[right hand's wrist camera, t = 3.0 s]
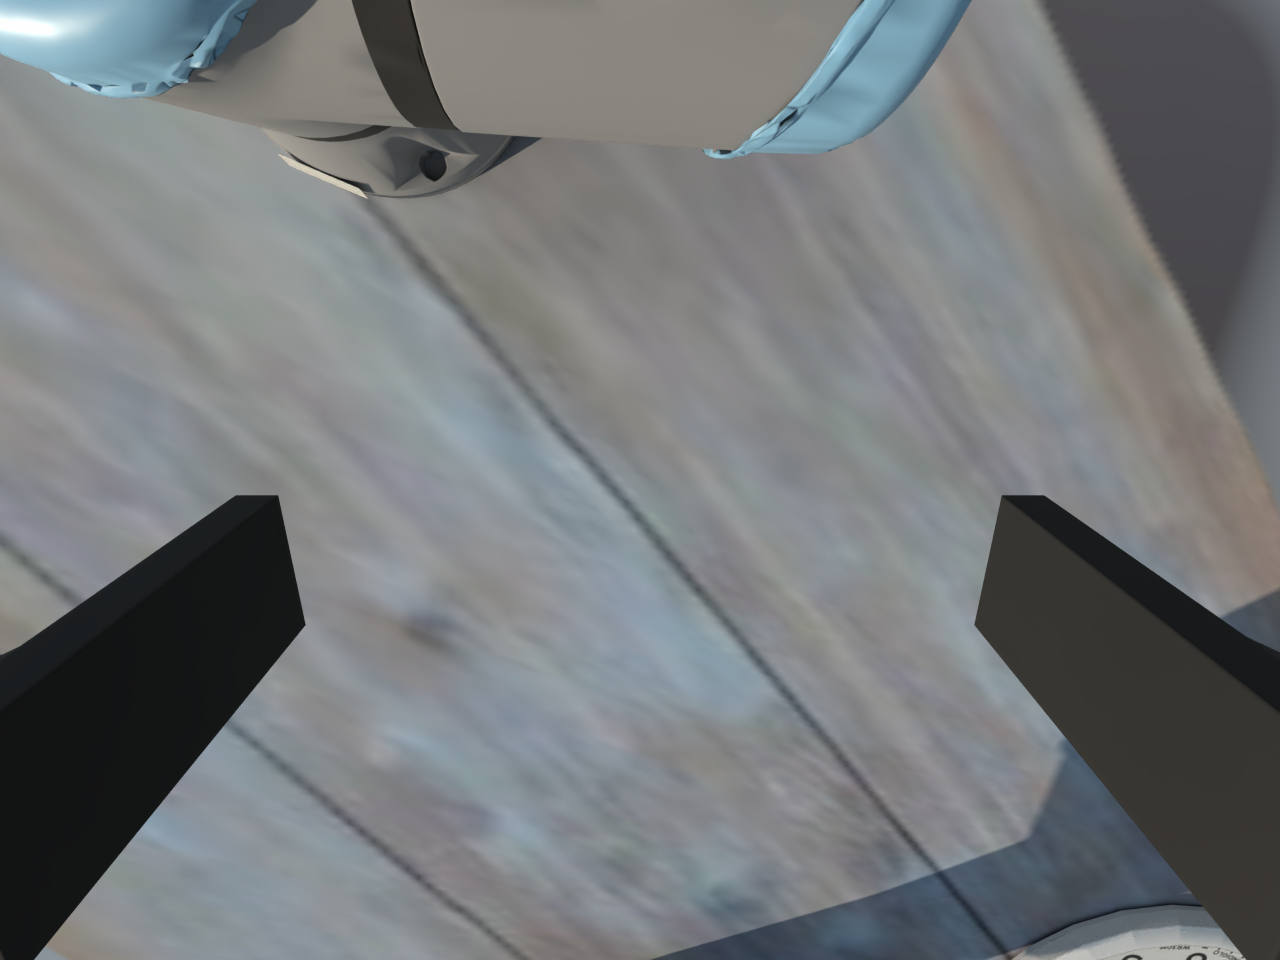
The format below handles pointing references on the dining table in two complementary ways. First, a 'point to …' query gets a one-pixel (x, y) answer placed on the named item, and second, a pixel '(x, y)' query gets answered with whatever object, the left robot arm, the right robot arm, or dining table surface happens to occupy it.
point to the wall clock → (1139, 937)
